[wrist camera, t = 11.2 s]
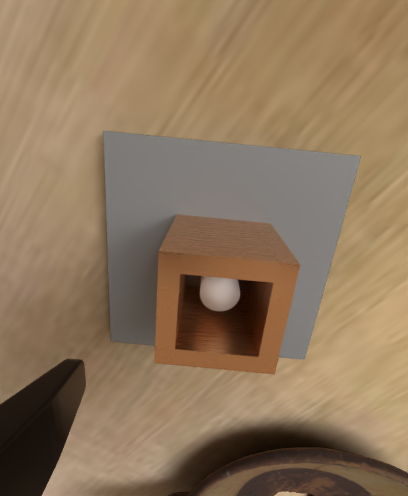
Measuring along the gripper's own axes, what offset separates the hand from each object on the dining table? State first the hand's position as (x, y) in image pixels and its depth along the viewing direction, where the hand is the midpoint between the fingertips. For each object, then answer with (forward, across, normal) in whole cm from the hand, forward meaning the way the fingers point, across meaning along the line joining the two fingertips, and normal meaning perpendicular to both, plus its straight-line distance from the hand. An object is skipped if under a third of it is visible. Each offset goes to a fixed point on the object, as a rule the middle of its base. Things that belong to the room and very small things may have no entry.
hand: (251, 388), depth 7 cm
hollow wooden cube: (+10, +1, +1) cm, 11 cm away
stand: (+12, +1, +1) cm, 12 cm away
